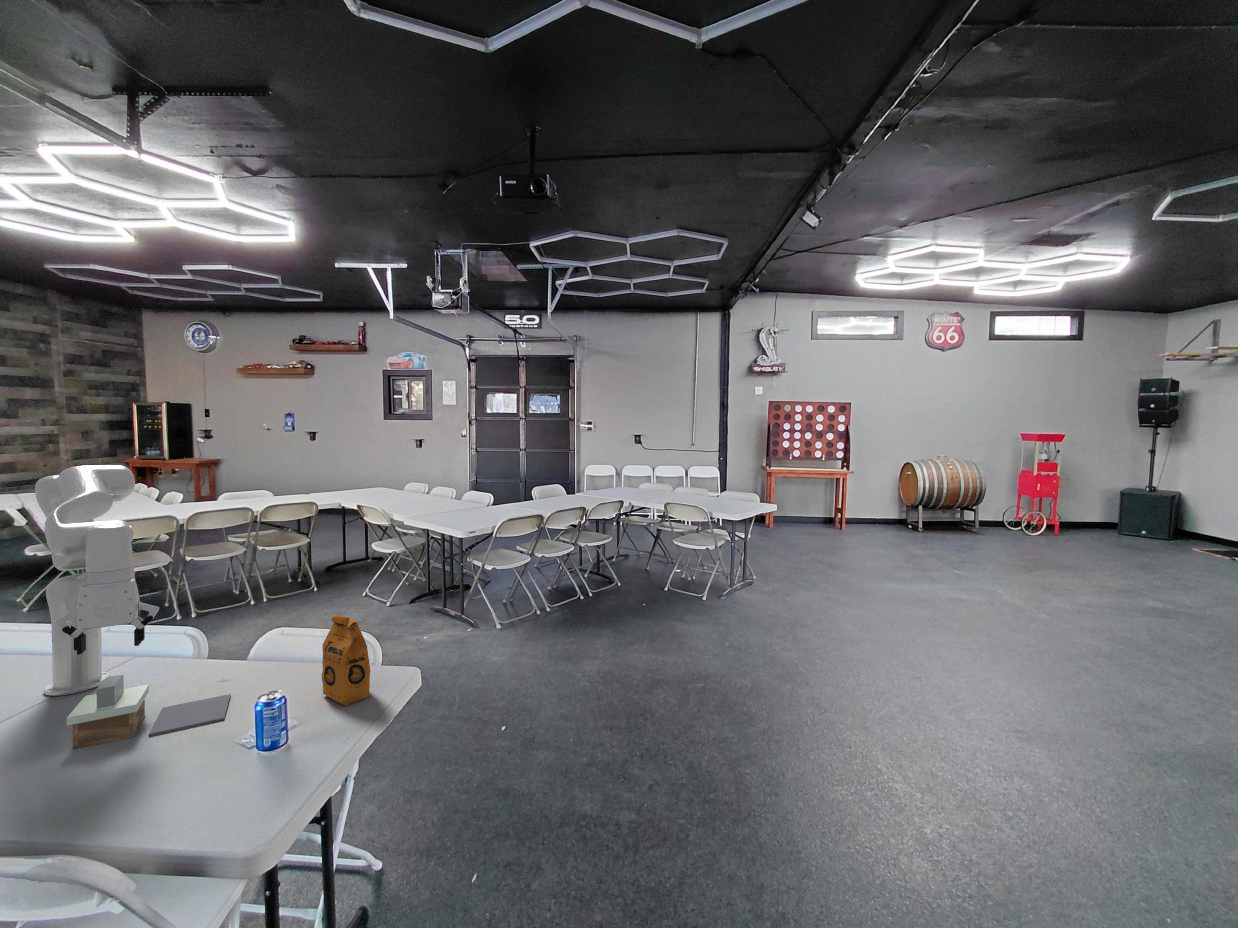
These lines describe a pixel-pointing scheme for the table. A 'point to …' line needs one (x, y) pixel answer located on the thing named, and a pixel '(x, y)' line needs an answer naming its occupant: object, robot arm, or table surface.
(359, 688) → the coffee package
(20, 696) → the table surface
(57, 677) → the robot arm
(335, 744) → the table surface
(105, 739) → the crate
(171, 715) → the mat
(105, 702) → the lid
